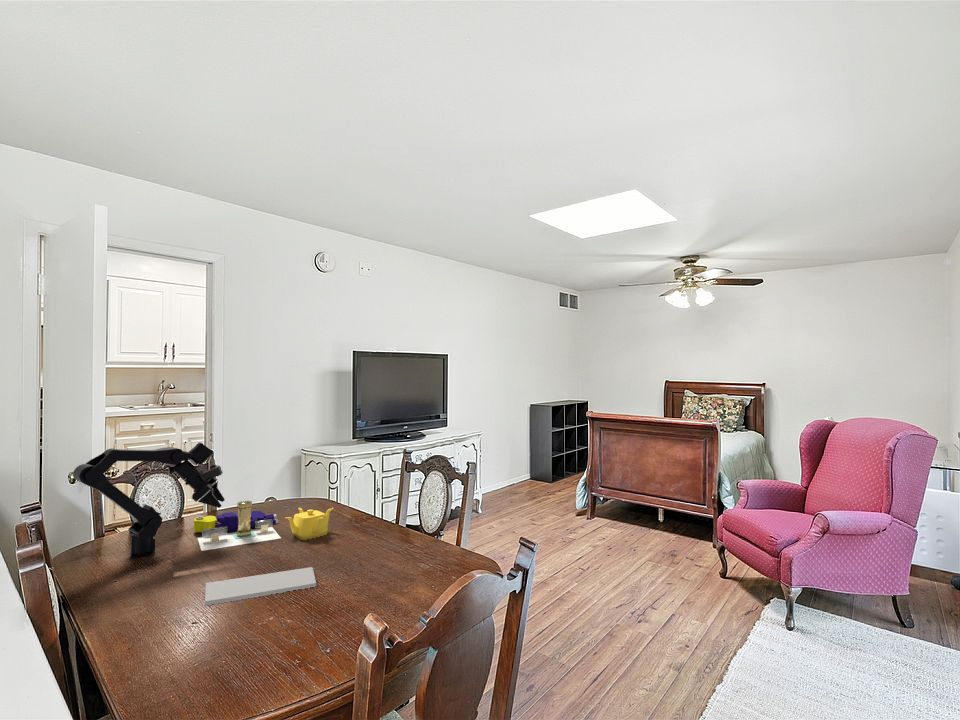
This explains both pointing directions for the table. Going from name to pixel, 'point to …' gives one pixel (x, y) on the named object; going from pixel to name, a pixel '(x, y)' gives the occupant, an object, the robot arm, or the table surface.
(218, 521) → the toy
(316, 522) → the teapot
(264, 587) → the grey flat slab
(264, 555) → the table surface
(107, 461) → the robot arm
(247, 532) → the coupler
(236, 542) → the board
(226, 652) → the table surface
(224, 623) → the table surface
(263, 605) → the table surface
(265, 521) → the shafts
